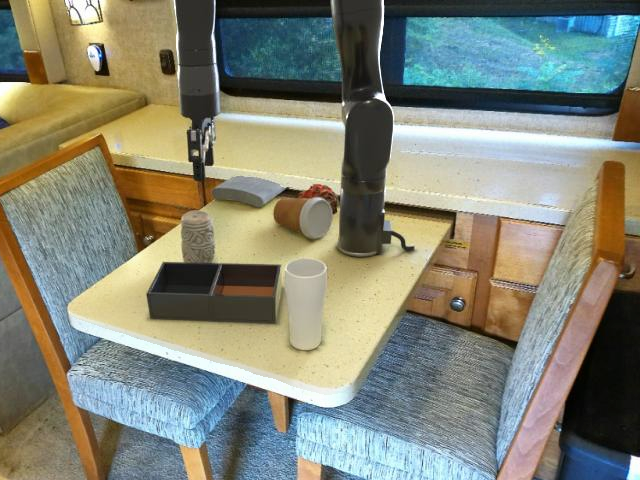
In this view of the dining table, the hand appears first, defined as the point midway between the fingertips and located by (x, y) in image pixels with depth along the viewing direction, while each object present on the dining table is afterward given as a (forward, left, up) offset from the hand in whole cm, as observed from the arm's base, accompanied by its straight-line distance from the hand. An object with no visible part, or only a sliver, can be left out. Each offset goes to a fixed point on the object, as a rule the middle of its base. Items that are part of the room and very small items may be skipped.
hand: (204, 172), depth 119 cm
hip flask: (0, -32, -18) cm, 37 cm away
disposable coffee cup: (-13, -20, -17) cm, 30 cm away
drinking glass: (-22, +27, -21) cm, 41 cm away
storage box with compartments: (-4, +16, -21) cm, 26 cm away
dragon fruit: (-22, -26, -21) cm, 39 cm away
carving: (+2, +1, -21) cm, 21 cm away
